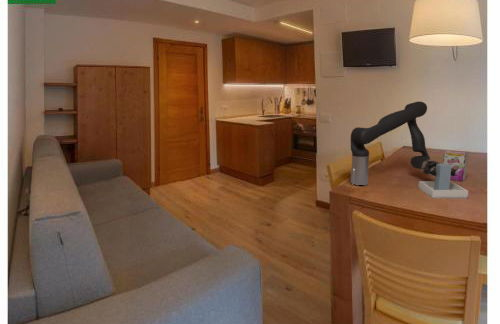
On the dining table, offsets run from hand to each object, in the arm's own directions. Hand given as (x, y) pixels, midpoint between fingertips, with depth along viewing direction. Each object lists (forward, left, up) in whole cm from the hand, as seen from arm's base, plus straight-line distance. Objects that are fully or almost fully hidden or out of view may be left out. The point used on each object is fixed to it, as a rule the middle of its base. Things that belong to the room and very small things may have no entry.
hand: (444, 174), depth 158 cm
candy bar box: (+18, +30, -11) cm, 37 cm away
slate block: (0, +2, -10) cm, 10 cm away
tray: (0, +2, -10) cm, 11 cm away
